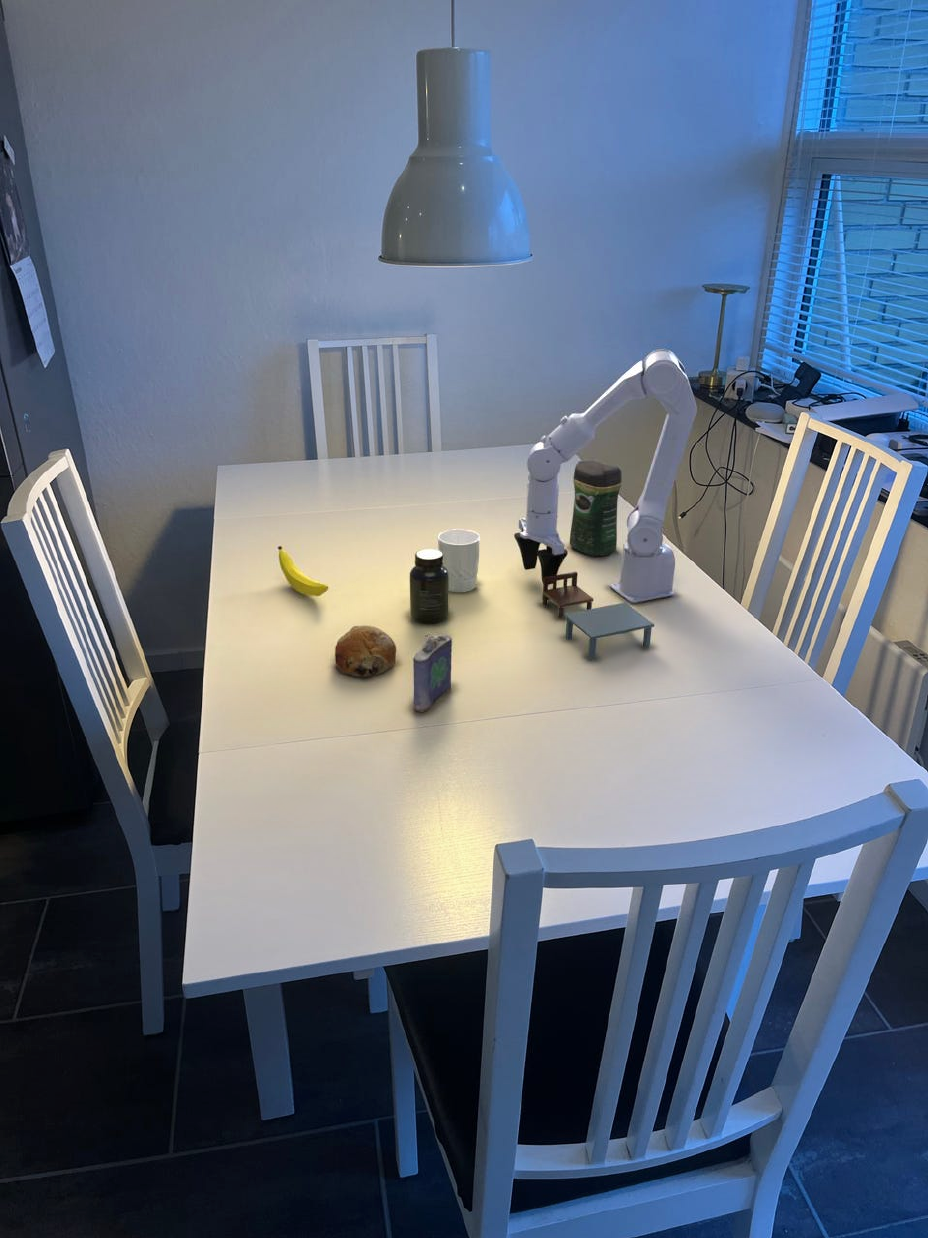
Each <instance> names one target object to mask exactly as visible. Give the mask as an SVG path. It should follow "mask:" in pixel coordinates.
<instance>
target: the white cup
mask: <svg viewBox="0 0 928 1238" xmlns="http://www.w3.org/2000/svg"><path fill="white" fill-rule="evenodd" d="M437 543H438V544H437V546H438V547H437V550H438V551H440V552H442V554H443V566H444V567H445V568H446V569H447V571H448V573H449V592H451V593H466V592H471V591H472V590H475V588H476V586H477V584H478V583H477V582H478V573H479V562H480V547H481V535H480V534H479V533H478V532H476V531H474V530H471V529H466V528H465V529H463V528H454V529H453V528H452V529H447V530H444V531H442V532H439V534H438V535H437Z"/></svg>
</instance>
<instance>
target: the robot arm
mask: <svg viewBox="0 0 928 1238" xmlns="http://www.w3.org/2000/svg"><path fill="white" fill-rule="evenodd" d="M647 393H649V394H650V396H652V397H653V398H655V399H656V400H657V401H659V402H660V404H661V406H662V407H663V408H664V410H665V412H666V413H667V414H666V416H665V419H664V424H663V426H662V429H661V433H660V436H659V439H658V443H657V446H656V449H655V452H654V455H653V458H652V461H651V464H650V468H649V471H648V475H647V478H646V481H645V483H644V486H643V491H642V493H641V495H640V497H639V499H638V501H637V504H636V506H635V507H634V509H632V510H631V511H630V512H629V514H628V516H627V519H626V526H627V527H626V528H627V535H626V536H627V537H626V540H625V541H624V542H623V544H622V555H621V567H620V577H619V582H617V583H612V584H610V585H609V588H611V589H612V590H613V591H614V592H616V593H617V594H618V595H620V596H621V597H623V598H624V599H625V600H626V601H628V602H630V603H631V604H636V603H641V602H642V603H643V602H647V601H652V600H657V599H662V598H667V597H671V596H675V591H673V587H674V578H675V577H674V576H675V569H676V557H675V554H674V551H673V549H672V548H671V547H670V546H669V545H668V544H666V543H665V544H664V543H663V542H664V541H663V540H664V535H663V525H664V521H665V516H666V511H667V504H668V502H669V500H670V496H671V493H672V490H673V487H674V484H675V480H676V477H677V474H678V472H679V470H680V469H679V468H680V466H681V462H682V459H683V457H684V453H685V450H686V447H687V444H688V442H689V438H690V434H691V432H692V429H693V425H694V423H695V420H696V417H697V414H698V407H697V402H696V398H695V396H694V393H693V390H692V386H691V384H690V380H689V377H688V374H687V371H686V368H685V366H684V365H683V363H682V362H681V360H680V359H679V358H678V357H677V355H675V353H674V352H673V351H671V350H668V349H663V348H659V349H655V350H653V351H652V352H650V353H649V354H648V355H646V357H645V358H644V360H640V361H639V362H637V363H635V364H634V365H633V366H632V367H631V368H629V370H627V371H626V372H625V373H624V374H623V375H621V377H620V378H618V380H617V381H616V382H615V383H613V384H612V385H611V386H610V387H609V388H608V389H607V390H606V391H605V392H604V393H603V394H602V395H601V396H600V397H599V398H597V400H596V401H595V402H594V403H593V404H592V405H591V406H589V407H588V409H586V410H585V411H584V412H582V413H571V414H570V415H569V416H567V415H564V416H563V417H562V418H561V419H560V421H559V423H560V424H559V425H558V426H557V427H556V428H554V430H553V431H551V432H550V433H549V434H548V435H547V436H546V435H543V436H542V437H541V438H540V442H537V443H535V444H534V446H532V448H531V449H530V451H529V454H528V458H527V463H526V466H527V471H528V475H527V481H528V482H527V486H526V507H525V508H526V510H525V511H526V512H525V517H522V518H518V529H519V530H520V532H519V531H518V532H515V533H514V534H513V537H514V539H515V541H516V544H517V546H518V548H519V552H520V555H521V561H522V565H523V569H524V570H525V571H529V570H533V569H536V568H537V567H536V566H537V563H538V560H539V564H540V572H541V573H540V574H541V575H540V577H541V583H542V584H543V577H549V576H554V575H558V572H559V570H560V567H561V566H562V563H563V561H564V560H565V559H566V558H567V556H568V555H569V553H568V550H567V549H566V548H565V543H564V542H563V541H562V539H561V537H560V534H559V532H558V530H557V527H558V524H557V523H558V509H559V508H558V506H559V490H560V489H559V488H560V486H559V485H560V484H559V473H560V471H561V465H562V464H564V463H567V462H569V461H570V460H571V459H572V458H573V457H574V456H576V455H577V454H578V453H579V452H580V451H581V450H582V449H584V447H586V446H587V445H588V444H589V443H591V442H592V441H593V440H594V439H595V432H596V431H595V429H596V428H597V427H598V426H599V425H600V424H601V423H603V422H605V420H607V419H608V418H609V417H610V416H611V415H613V414H614V413H615V412H616V411H618V410H619V409H621V407H623V406H624V405H625V404H626V403H628V402H629V401H630V400H645V399H647V398H648V397H647ZM541 544H542V545H544V546H546V547H545V549H540V546H541ZM549 585H553V582H548V586H549Z"/></svg>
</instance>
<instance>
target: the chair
mask: <svg viewBox="0 0 928 1238" xmlns="http://www.w3.org/2000/svg"><path fill="white" fill-rule="evenodd" d="M578 573H579V572H577V571H571V572H567V573H566V572H565V573H560V574H557V575H554V576H549V577H543V583H542V592H541V593H542V594H541V600H542V605H543V606H544V607H545V606H548V602H549V601H551V602H552V603H553V604H555V605H556V606H557V607H558V608H557V609H558V610H557V618H558V620H559V619H560V620H562V619H563V618H564V608H566V607H571V606H573V607H574V606H577V605H582V604H586V609H585V610H589V609H593V608H592V607H593V602H594V597H592V596H591V595H590V594H588V593H587V592H586V591H584V589H582V588H581V587H579V586H578ZM568 579H571V584H570V585H568ZM558 581H562V582H563V584H562V586H559V587H557V585H558ZM548 582H553V584H552V588H549V585H548Z"/></svg>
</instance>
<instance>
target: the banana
mask: <svg viewBox="0 0 928 1238" xmlns="http://www.w3.org/2000/svg"><path fill="white" fill-rule="evenodd" d="M277 550H278V551H279V552H278V560H279V566H280V569H281V571H282V573H283V575H284V577H285V579H286V581H287V582H288V584H289V585H290V586H291V588H293V589H294V590H295V591H296V592H298V593H299V594H302V595H306V596H313V597H320V596H321V595H323V594H324V593H326V592H327V591H328V590H329V585H328V584H325V583H323V582H319V581H316V580H314V579H312V578H309V576H307V575H305V574H304V573H302V572H301V571H300V569H299V568H298V567H297V566H296V564H295V563H294V561H293V559H292V558H291V557H290V555H289V554H288V553H287V552H286V551H284V550H283V547H282V546H281V545H278V546H277Z"/></svg>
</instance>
